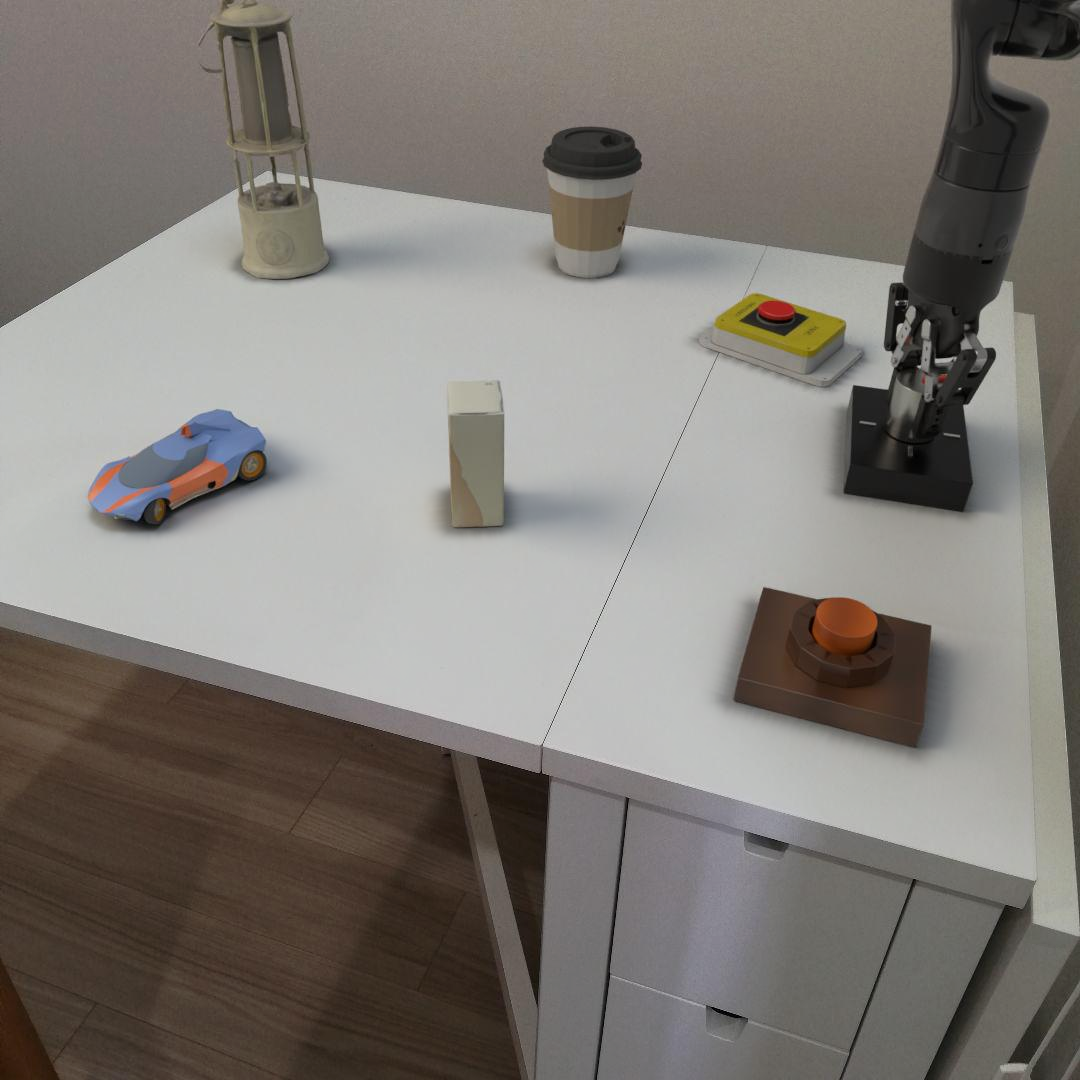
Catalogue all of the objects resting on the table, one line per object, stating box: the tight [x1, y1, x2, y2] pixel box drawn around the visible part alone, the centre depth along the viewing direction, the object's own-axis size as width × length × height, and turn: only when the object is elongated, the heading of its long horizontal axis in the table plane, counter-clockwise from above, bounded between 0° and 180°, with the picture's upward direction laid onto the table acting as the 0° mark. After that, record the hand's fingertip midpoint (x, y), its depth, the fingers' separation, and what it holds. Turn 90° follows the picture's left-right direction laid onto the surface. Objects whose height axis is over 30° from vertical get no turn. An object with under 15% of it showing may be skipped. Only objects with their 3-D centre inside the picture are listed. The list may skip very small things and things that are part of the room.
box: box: [446, 379, 505, 528], centre depth 85 cm, size 5×4×11 cm
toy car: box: [87, 408, 268, 525], centre depth 88 cm, size 8×15×5 cm, turn 138°
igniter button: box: [812, 596, 878, 656], centre depth 71 cm, size 4×4×2 cm
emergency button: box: [698, 292, 863, 388], centre depth 110 cm, size 9×4×15 cm
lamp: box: [197, 0, 330, 280], centre depth 118 cm, size 10×13×30 cm
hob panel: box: [842, 384, 974, 512], centre depth 95 cm, size 14×10×3 cm
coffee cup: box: [541, 125, 643, 279], centre depth 123 cm, size 11×11×15 cm
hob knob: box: [884, 367, 947, 443], centre depth 92 cm, size 4×4×5 cm
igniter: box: [733, 586, 933, 748], centre depth 73 cm, size 12×10×4 cm
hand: (911, 419), depth 93 cm, fingers closed on hob knob, 4 cm apart
